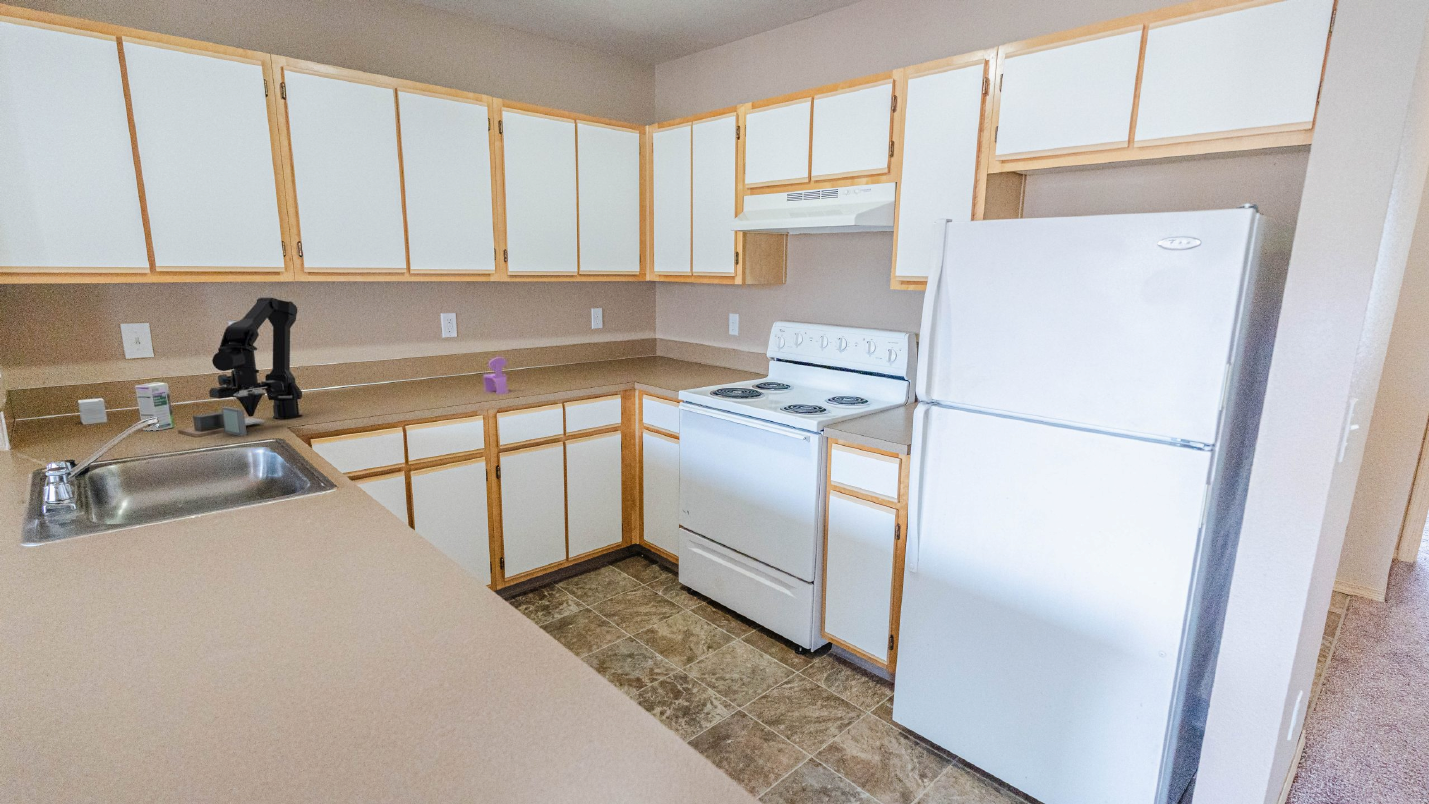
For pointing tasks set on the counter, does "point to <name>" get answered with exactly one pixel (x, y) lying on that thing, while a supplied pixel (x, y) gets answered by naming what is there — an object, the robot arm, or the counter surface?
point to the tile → (234, 421)
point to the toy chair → (496, 377)
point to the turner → (215, 421)
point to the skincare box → (92, 411)
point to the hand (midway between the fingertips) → (250, 416)
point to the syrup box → (155, 404)
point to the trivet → (198, 434)
